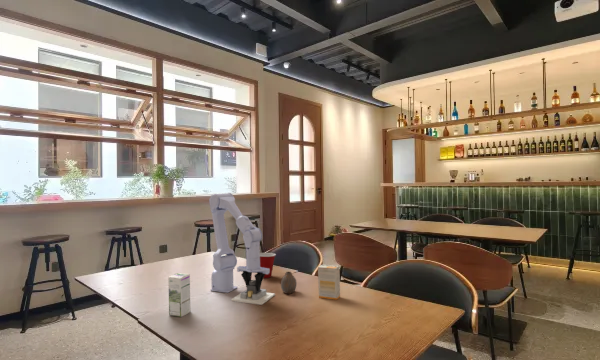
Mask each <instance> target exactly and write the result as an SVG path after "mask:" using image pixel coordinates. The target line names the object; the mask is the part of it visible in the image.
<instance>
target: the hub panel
mask: <svg viewBox="0 0 600 360" xmlns="http://www.w3.org/2000/svg"><path fill="white" fill-rule="evenodd" d="M275 296H276V293H275V292H274V293H273V292H267V289H265V288H260V292H259V293H257V294H252V297H248V295H247V289H245V290H244V291H242V292H239V294H238V295H236V296H233V297H232V298H231V301H232V302H236V303H246V304H253V305H260V306H263V305H264V304H265V303H266V302H268V301H269V300H270V299H272V298H273V297H275Z"/></svg>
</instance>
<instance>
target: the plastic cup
mask: <svg viewBox="0 0 600 360" xmlns="http://www.w3.org/2000/svg"><path fill="white" fill-rule="evenodd" d="M276 256H277V254H276V253H274V252H273V253H272V252H260V267H263V268H268V269H270V273H269V274H265V276H264V278H263V279H269V278H272V276H273V275H272V274H273V269H274V268H273V267H274V261H275V258H276Z"/></svg>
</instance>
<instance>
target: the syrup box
mask: <svg viewBox="0 0 600 360" xmlns="http://www.w3.org/2000/svg"><path fill="white" fill-rule="evenodd" d="M167 279H168V280H167V281H168V282H167V283H168V316H173V317H180V318H182V317H184V316H186V315H188V314H190V313H191V311H192V308H191V274H190V273H181V272H180V273H174V274H172V275H170V276H168V278H167Z"/></svg>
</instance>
